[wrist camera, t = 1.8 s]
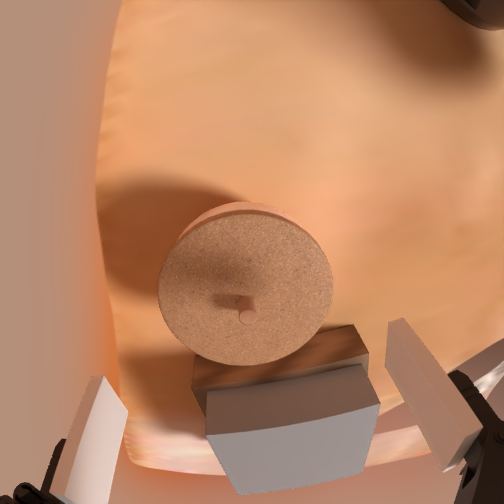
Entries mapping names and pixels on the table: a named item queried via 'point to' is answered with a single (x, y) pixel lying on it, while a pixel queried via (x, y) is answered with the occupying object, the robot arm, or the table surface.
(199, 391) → the tower base
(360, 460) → the grey square slab
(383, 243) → the table surface
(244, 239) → the lidded jar
